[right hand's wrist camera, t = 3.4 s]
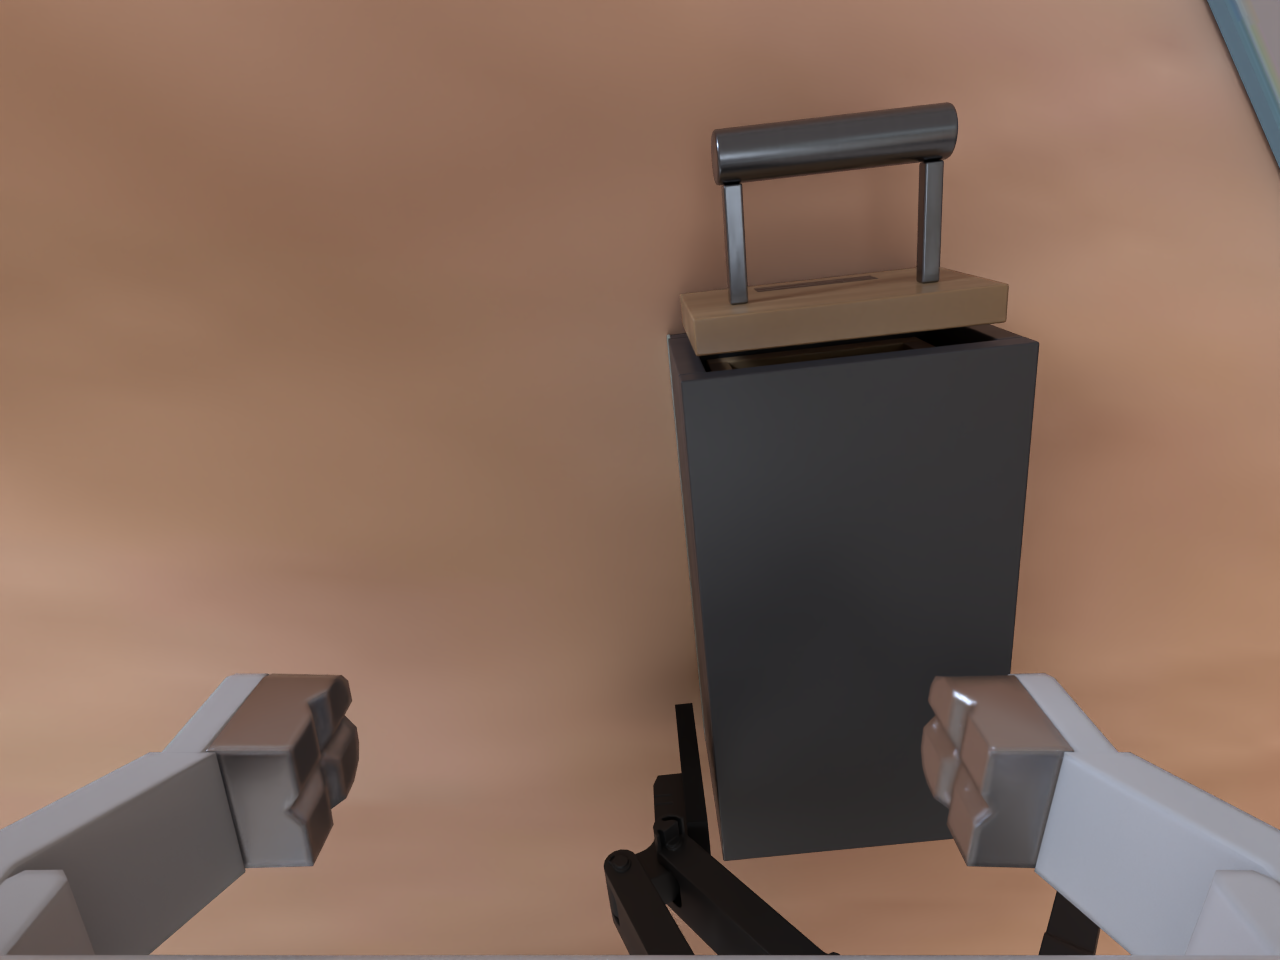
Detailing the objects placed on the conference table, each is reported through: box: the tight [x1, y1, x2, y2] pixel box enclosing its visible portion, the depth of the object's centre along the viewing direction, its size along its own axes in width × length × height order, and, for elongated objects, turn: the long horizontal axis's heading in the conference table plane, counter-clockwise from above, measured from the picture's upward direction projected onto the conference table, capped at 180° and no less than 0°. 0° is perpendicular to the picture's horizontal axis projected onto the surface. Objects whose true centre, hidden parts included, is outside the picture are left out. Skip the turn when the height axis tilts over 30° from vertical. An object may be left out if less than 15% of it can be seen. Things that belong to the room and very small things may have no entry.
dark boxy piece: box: [667, 324, 1039, 861], centre depth 30 cm, size 20×11×8 cm, turn 6°
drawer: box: [680, 102, 1009, 372], centre depth 29 cm, size 24×10×6 cm, turn 6°
